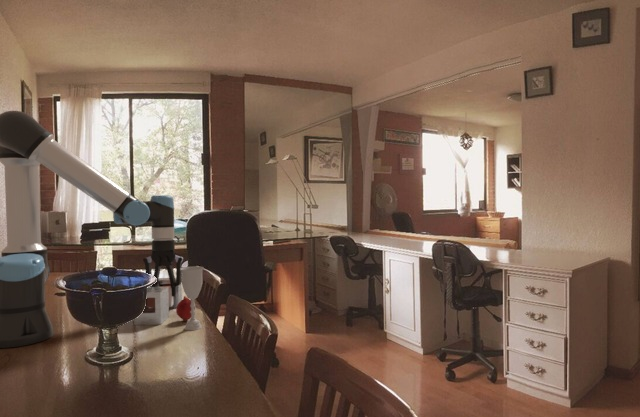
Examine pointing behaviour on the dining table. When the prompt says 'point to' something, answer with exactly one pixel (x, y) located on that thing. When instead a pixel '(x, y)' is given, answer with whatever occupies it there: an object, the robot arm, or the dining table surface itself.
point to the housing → (159, 311)
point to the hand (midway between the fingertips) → (164, 305)
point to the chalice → (192, 291)
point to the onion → (184, 309)
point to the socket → (178, 291)
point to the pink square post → (152, 300)
